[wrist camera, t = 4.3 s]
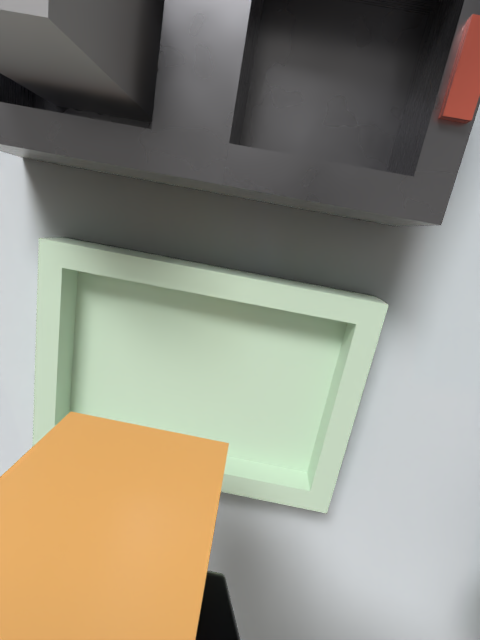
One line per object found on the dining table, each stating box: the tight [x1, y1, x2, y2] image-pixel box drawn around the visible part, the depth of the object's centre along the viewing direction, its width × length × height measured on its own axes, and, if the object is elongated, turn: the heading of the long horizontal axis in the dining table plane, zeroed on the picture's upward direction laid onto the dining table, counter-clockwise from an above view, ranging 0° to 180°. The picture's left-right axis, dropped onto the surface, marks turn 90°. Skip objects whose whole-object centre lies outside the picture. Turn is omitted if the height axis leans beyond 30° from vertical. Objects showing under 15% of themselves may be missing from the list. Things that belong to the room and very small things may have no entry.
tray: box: [33, 237, 389, 514], centre depth 16 cm, size 14×10×2 cm
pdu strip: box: [0, 0, 480, 226], centre depth 12 cm, size 16×8×4 cm, turn 80°
